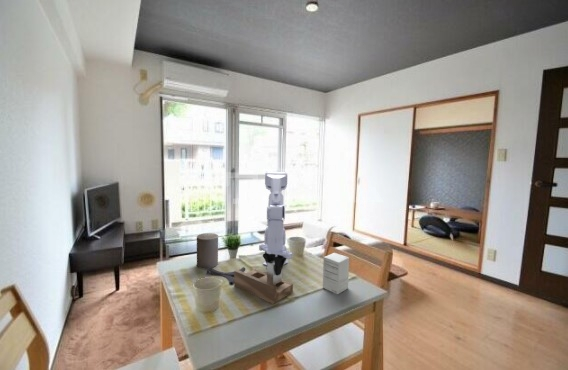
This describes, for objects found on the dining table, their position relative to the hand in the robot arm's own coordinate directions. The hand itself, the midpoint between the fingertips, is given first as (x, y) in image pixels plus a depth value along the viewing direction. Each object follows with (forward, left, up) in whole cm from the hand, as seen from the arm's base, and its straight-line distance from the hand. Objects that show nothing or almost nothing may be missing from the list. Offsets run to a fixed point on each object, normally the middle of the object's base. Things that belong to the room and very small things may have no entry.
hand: (274, 273), depth 98 cm
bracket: (+3, -26, -8) cm, 28 cm away
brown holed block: (0, -5, -8) cm, 9 cm away
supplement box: (-18, +16, -8) cm, 25 cm away
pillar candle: (+1, -40, -8) cm, 41 cm away
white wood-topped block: (0, 0, -3) cm, 3 cm away
